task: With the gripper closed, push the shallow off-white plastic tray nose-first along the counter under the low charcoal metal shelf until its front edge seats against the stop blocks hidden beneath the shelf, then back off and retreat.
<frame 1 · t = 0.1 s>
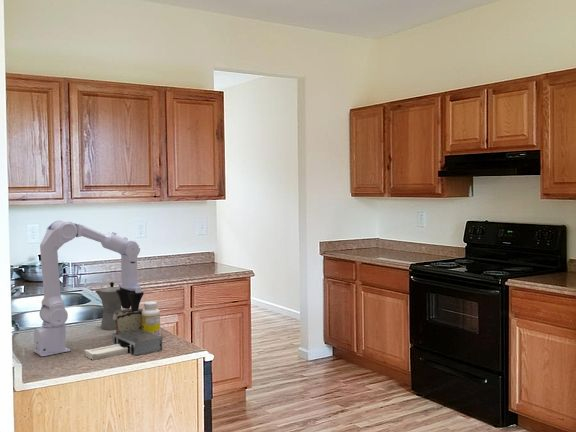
hand: (130, 309, 211), 10 cm above the countertop, tool pointing down, fingers open, 7 cm apart
coffeepot: (115, 327, 226), on the countertop
tray: (106, 354, 189), on the countertop
shelf: (133, 348, 196), on the countertop
food container: (125, 338, 211), on the countertop
supplement bottle: (151, 337, 211), on the countertop
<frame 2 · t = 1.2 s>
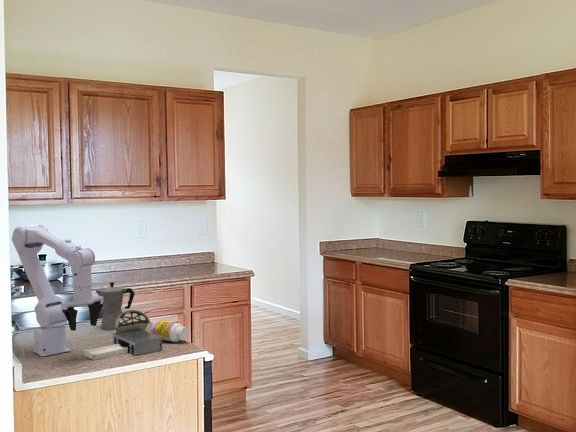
hand: (83, 327, 187), 10 cm above the countertop, tool pointing down, fingers open, 7 cm apart
food container: (126, 333, 210), point 2 cm above the countertop, touching shelf
supplement bottle: (155, 329, 209), point 3 cm above the countertop
everything else where it was.
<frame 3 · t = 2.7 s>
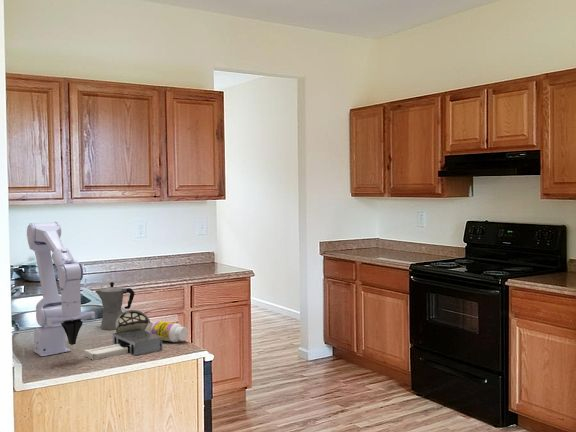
hand: (72, 343, 182), 6 cm above the countertop, tool pointing down, fingers closed
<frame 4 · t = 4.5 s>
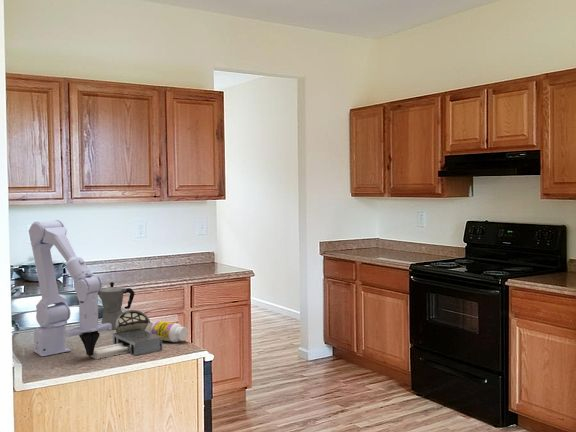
hand: (89, 355, 186), 1 cm above the countertop, tool pointing down, fingers closed
tray: (109, 353, 190), on the countertop, touching gripper
everything else where it was.
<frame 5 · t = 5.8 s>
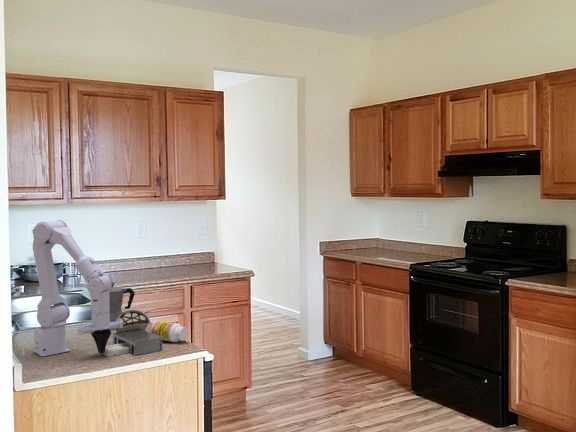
hand: (101, 352, 188), 1 cm above the countertop, tool pointing down, fingers closed
tray: (121, 351, 193), on the countertop, touching gripper
everything else where it was.
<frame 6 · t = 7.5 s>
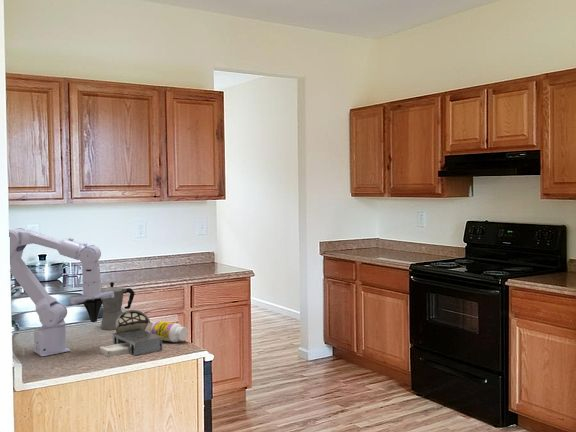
hand: (93, 321, 194), 10 cm above the countertop, tool pointing down, fingers closed
tray: (121, 351, 193), on the countertop
everything else where it was.
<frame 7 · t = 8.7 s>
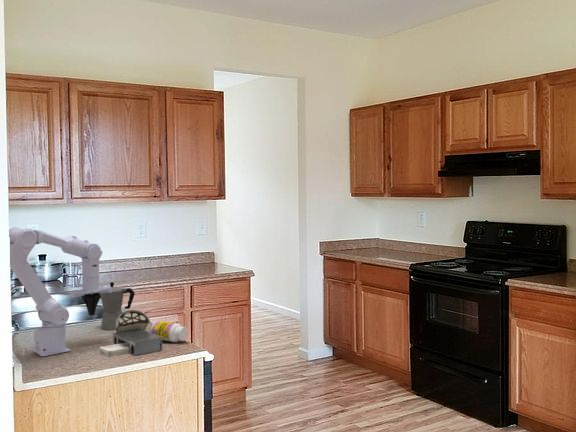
hand: (91, 314, 204), 10 cm above the countertop, tool pointing down, fingers closed
nothing on the countertop moved.
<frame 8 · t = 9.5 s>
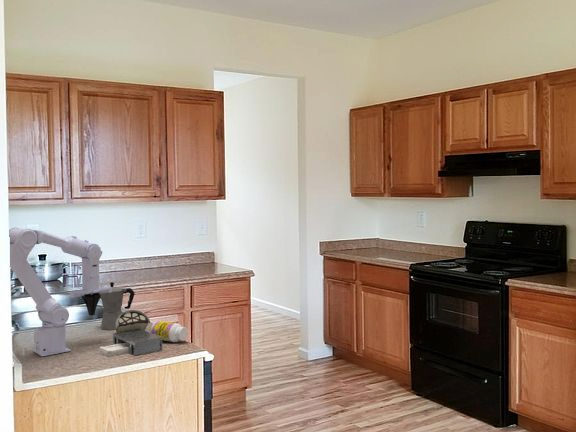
hand: (91, 314, 204), 10 cm above the countertop, tool pointing down, fingers closed
nothing on the countertop moved.
at the end: tray 0.2 cm from the target spot on the shelf, point 0.0 cm above the shelf's base; tray tilted 0° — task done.
